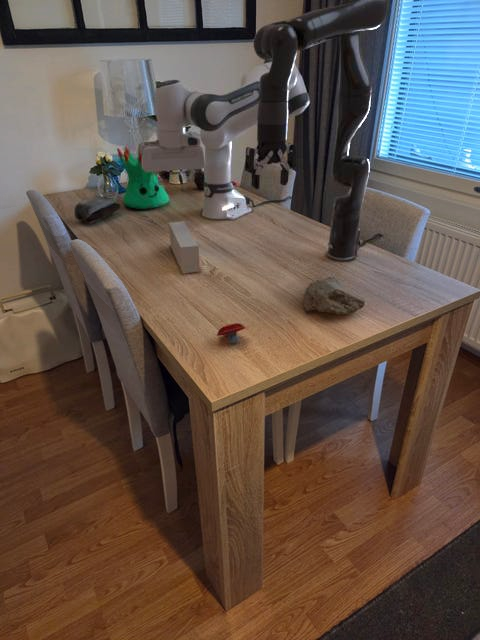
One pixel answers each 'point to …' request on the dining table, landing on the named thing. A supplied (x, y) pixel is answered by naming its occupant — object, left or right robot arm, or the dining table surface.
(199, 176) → the toy
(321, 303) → the artifact
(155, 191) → the toy
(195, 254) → the bar
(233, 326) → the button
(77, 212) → the dark grey case
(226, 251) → the dining table surface
